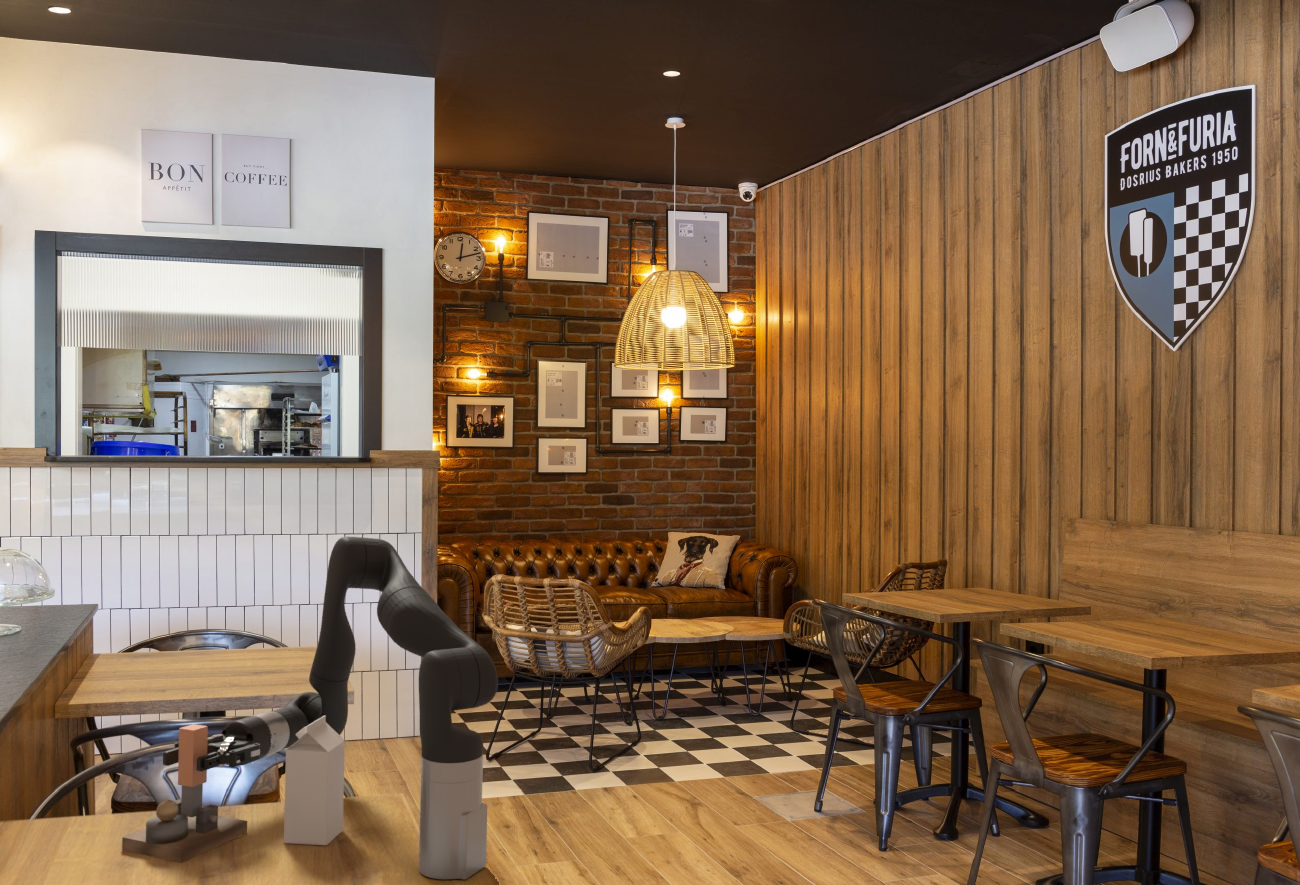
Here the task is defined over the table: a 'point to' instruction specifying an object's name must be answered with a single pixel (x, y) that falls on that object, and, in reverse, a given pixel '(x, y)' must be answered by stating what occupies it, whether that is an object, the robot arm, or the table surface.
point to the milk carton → (314, 785)
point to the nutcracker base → (189, 842)
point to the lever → (191, 767)
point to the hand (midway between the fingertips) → (181, 762)
